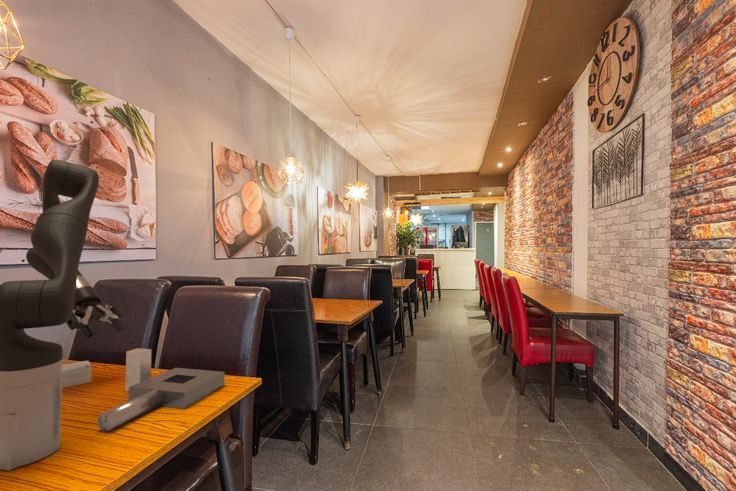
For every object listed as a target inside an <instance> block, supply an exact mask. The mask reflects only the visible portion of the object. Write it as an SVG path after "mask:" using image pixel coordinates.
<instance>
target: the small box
mask: <svg viewBox="0 0 736 491" xmlns="http://www.w3.org/2000/svg"><path fill="white" fill-rule="evenodd" d="M91 382H92V365H91V362H90V361H89V360H83V361H77V362H72V363H67V364H62V389H65V388H69V386H70V387H74V386H79V385H83V384H88V383H91ZM64 387H65V388H64Z"/></svg>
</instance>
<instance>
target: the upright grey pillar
mask: <svg viewBox="0 0 736 491" xmlns="http://www.w3.org/2000/svg"><path fill="white" fill-rule="evenodd" d="M125 357H126V358H125V392H129V387H130V386H132V385H135V384H137V383H140V382H142V381H145V380H147V379H149V378H152V349H150V348H139V347H138V348H134V349H131V350H126V356H125Z"/></svg>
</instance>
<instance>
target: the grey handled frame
mask: <svg viewBox="0 0 736 491" xmlns="http://www.w3.org/2000/svg"><path fill="white" fill-rule="evenodd" d="M225 375H226V374H225V371H217V370H207V369H206V370H205V369H196V368H195V369H194V368H185V367H184V368H183V367H175V368H172V369H170V370H167V371H165V372H162V373H160V374H157V375H155V376H151V378H149V379H147V380H145V381H142V382H140V383H137V384H135V385H132V386H130V387H129V391H128V401H126V402H124V403H122V404H120V405H117V406H116V407H113V408H111V409H109V410H107V411H104V412H102V413H100V414H99V415H98V417H97V426H98V429H99V430H100V431H102V432H103V433H108V432H109V431H111V430H113V429H115V428H117V427H119V426H122V425H123V424H125V423H127V422H128V421H131V420H133V419H134V418H137V417H138V416H141V415H143V414H144V413H147V412H148V411H151V410H152V409H154V408H156V407H164V408H172V409H181V410H185V409H187V408H189V407H190V406H192V405H194V404H195V402H196V403H198V402H199V401H201V400H203V399H205V398H206V397H207V395H208V394H209V395H211V394H213V393H214V392H213V391H215V390H216V391H218V390H219V389H218V388H220V387H222V386H223V387H225V384H226V383H225V381H226V380H225V377H226V376H225ZM223 387H222V388H223ZM217 389H218V390H217ZM220 389H221V388H220ZM216 391H215V392H216ZM212 392H213V393H212ZM210 393H211V394H210ZM209 395H208V396H209ZM205 396H206V397H205ZM202 398H203V399H202ZM200 399H201V400H200Z"/></svg>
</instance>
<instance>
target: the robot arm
mask: <svg viewBox="0 0 736 491" xmlns="http://www.w3.org/2000/svg"><path fill="white" fill-rule="evenodd" d="M99 183H100V176H99V173H98V172H97V170H94V169H93V168H91V167H87V166H84V165H80V164H76V163H72V162H69V161H65V160H61V159H53V160H50V161H49V162H48V165H47V166H46V168H45V171H44V174H43V179H42V190H41V191H42V194H41V195H42V196H41V198H42V201H41V204H42V213H40V215H38V217H37V218H36V222H35V224H34V227H33V230H32V232H31V234H30V242H31V245H32V247H31V248H29V249H28V250H27V252H26V255H25V260H26V261H27V262H28V265H29V266H30V267H31V268H32V269H33V270H35V271H36V272H38V273H39V274H41V275H43V276H44V277H45V278H46V279H33V280H28V279H27V280H26V279H25V280H9V281H8V280H7V281H5V282H2V283H1V284H0V470H3V471H12V470H13V469H17V468H18V467H22V466H25V465H28V464H32V463H34V462H37V461H40V460H42V459H44V458H46V457H48V456H50V455H52V454H54V453H55V452H56V451H57V450H58V449H59V448H60V446H61V432H62V431H61V429H62V428H61V426H62V425H61V424H62V423H61V421H62V420H61V419H62V392H63V390H62V389H63V388H62V365H63V354H64V351H63V350H64V349H63V346H62V344H59V343H57V342H52V341H47V340H46V341H45V340H41V339H38V338H36V337H33V336H31V335H29V334H27V333H26V332H25V330H26V329H27V330H28V329H35V328H37V329H39V328H40V329H41V328H50V327H57V326H61V325H64V324H66V325H67V326H68V328H69V330H71V331H73V330H78V331H81V333H82V334H83V336H84V337H85V338H86V339H87V340H91V339H93V338H94V337H95V336H96V332H95V330H94V329H93V328H92V326H91V325H90V324H88V323H89V322H93V321H102V322H107V323H109V324H111V326H112V328H113V329H114V330H115V332H116V333H118V334H119V333H122V331H123V330H124V325H123V323H122V322H121V321H120V320H121V318H122V317H124V314H123V313H122V312H121V310H120V309H119V308H118V306H116V304H115V303H114V302H109V303H108V304H104V303H102V302H101V298H100V295H99V294H98V293H97V292H96V290H95V289H94V288H93V286H92V285H91V283H90V282H89V280H87V279H86V278H85V277H84V276H83V274H82V273H81V272H80V270H79V266H80V261H81V257H82V252H83V249H84V246H85V243H86V239H87V233H88V227H89V221H90V214H91V210H92V206H93V204H94V201H95V198H96V195H97V192H98V188H99V185H100V184H99ZM59 196H62V197H67V198H70V199H69V200H67V201H64V202H62V201H61V200H60V197H59ZM78 318H79V319H78Z"/></svg>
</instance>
